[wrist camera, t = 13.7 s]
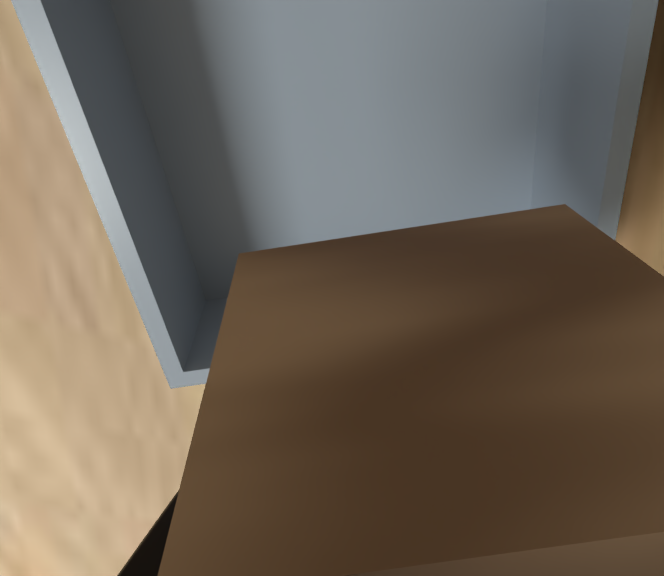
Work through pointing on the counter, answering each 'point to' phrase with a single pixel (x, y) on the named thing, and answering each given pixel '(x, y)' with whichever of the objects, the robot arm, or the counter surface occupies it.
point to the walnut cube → (432, 408)
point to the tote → (328, 127)
